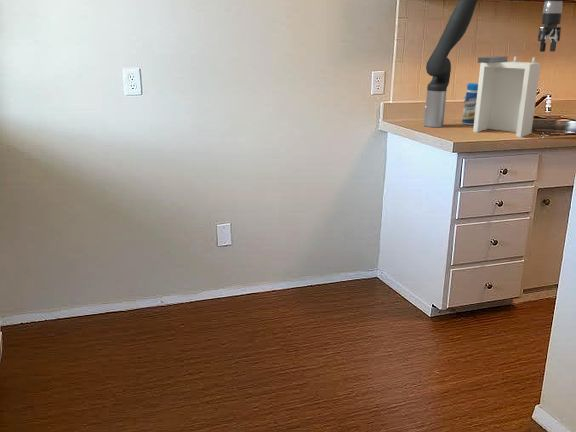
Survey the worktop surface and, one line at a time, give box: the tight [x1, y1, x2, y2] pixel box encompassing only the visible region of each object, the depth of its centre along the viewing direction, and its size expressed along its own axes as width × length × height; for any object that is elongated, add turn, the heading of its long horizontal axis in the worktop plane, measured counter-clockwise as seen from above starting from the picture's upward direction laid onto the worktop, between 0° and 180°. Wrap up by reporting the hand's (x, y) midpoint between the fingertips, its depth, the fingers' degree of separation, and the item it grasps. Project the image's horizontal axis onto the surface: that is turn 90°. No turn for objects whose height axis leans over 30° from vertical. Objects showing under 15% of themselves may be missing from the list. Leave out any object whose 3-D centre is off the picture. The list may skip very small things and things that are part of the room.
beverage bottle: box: [461, 82, 478, 126], centre depth 313 cm, size 8×8×20 cm
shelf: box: [472, 56, 542, 138], centre depth 287 cm, size 22×16×34 cm
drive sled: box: [477, 55, 509, 64], centre depth 282 cm, size 5×24×2 cm, turn 143°
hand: (547, 51), depth 272 cm, fingers open, 8 cm apart
